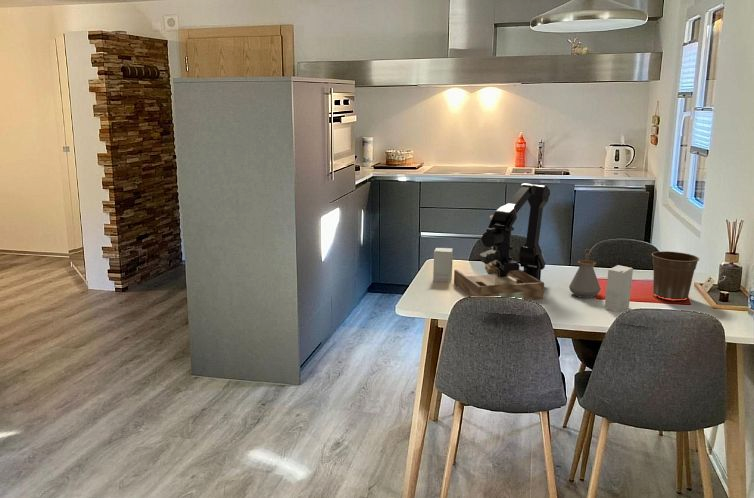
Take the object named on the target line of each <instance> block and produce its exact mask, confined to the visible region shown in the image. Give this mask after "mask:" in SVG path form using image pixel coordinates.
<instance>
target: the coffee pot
mask: <svg viewBox="0 0 754 498" xmlns="http://www.w3.org/2000/svg"><path fill="white" fill-rule="evenodd" d="M591 252H592V251H591V250H590V249H589V248H586V249H585V251H584V253H585V255H584V256H585V258H584V260H578V261H577V263H578V266H579V267H578V269H577V271H576V272H575V274H574V276H573V278H572V280H571V282H570V283H569V286H568V287H569V290H570V292H571V293H572V294H573V296H575V297H578V298H584V299H588V298H589V299H591V298H595V296H597V295H598V294H599V293H600V292H601V290H602V289H601V286H600V284H599V280H598V277H597V275H596V272H595V269H594V268H595V266H596V265H597V262H595V261H593V260H592V261H591V260H589V257H590V255H589V253H591Z"/></svg>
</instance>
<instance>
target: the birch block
mask: <svg viewBox="0 0 754 498" xmlns="http://www.w3.org/2000/svg"><path fill="white" fill-rule="evenodd" d="M505 284H517V280H515V279H513V278H512V277H510V276H509V277H495V285H505Z"/></svg>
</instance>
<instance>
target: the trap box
mask: <svg viewBox="0 0 754 498" xmlns="http://www.w3.org/2000/svg"><path fill="white" fill-rule="evenodd" d="M453 270H454V272H453V285H454V286H456V287H457V288H458V287H459V288H458V289H459V290H461V291H462V292H464V294H466V293H467V294H468V295H467V294H466V295H467V296H469V297H470V296H501V297H515V298H522V299H526V300H538V299H539V300H540V299H544V293H545V282H544V281H542V280H541V279H540V280H538V279H536V278H535V277H533V276H531V275H529V274H527V273H526V272H524V271H523V270H521V268H519V270H514V271H512V274H507V276H506V277H509V276H510V277H512V278H513V279H515V280H517V284H505V285H495V277H498V275H497V274H481V275H465V274H464V273H463V272H461V271H459V269H453Z"/></svg>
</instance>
